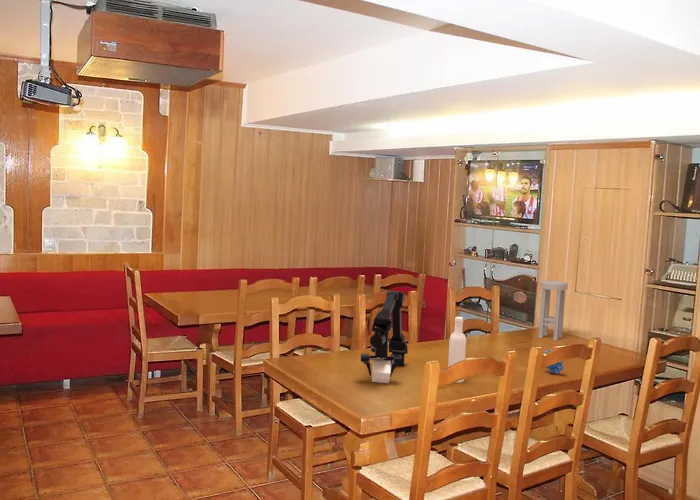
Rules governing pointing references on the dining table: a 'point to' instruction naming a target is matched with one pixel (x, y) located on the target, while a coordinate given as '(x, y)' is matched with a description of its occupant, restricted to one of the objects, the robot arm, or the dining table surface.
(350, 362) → the dining table surface
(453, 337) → the bottle
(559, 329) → the stool
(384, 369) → the pale pink cube
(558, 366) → the grapes
